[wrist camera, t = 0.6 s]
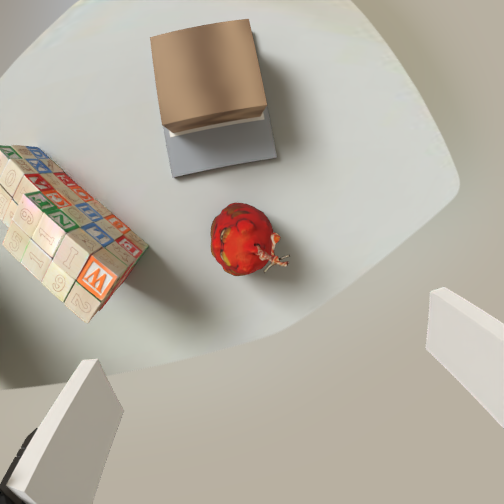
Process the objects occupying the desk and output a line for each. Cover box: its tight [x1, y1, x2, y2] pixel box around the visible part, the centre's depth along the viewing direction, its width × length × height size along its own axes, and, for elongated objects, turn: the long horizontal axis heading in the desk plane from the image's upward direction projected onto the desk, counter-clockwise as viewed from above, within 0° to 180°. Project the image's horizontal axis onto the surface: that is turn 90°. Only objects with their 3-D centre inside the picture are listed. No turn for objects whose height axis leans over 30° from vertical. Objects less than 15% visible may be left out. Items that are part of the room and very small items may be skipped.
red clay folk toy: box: [211, 203, 290, 276], centre depth 29 cm, size 8×7×15 cm
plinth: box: [150, 19, 267, 133], centre depth 28 cm, size 10×10×6 cm
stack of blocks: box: [0, 145, 149, 323], centre depth 28 cm, size 21×6×12 cm, turn 49°
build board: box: [163, 106, 277, 177], centre depth 32 cm, size 12×17×1 cm
